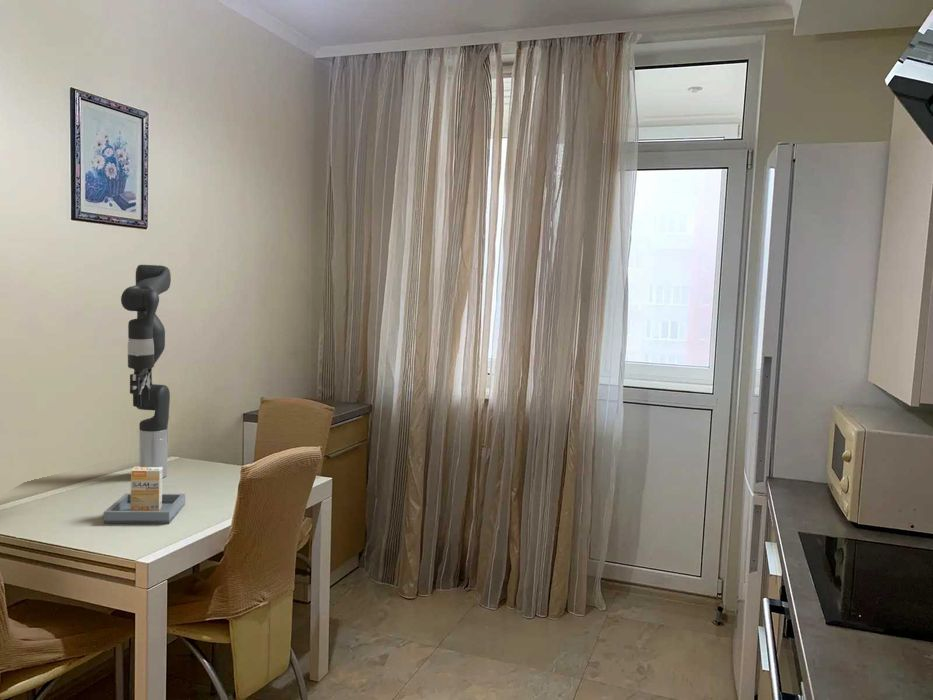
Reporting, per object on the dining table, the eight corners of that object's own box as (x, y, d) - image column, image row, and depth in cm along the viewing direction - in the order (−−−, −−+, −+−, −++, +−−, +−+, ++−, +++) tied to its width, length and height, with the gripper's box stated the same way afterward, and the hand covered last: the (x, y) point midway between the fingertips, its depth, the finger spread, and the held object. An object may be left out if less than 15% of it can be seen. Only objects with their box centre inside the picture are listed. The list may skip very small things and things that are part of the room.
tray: (125, 504, 223) (125, 493, 222) (185, 504, 225) (185, 493, 225) (104, 523, 205) (104, 512, 204) (169, 523, 207) (169, 512, 207)
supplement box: (129, 513, 212) (130, 470, 210) (133, 508, 216) (133, 466, 215) (159, 512, 213) (159, 470, 212) (162, 507, 218) (162, 466, 217)
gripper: (135, 349, 227) (136, 398, 229) (120, 355, 213) (121, 408, 215) (160, 350, 228) (160, 399, 230) (146, 356, 214) (147, 408, 217)
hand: (141, 403), depth 223 cm, fingers open, 8 cm apart
